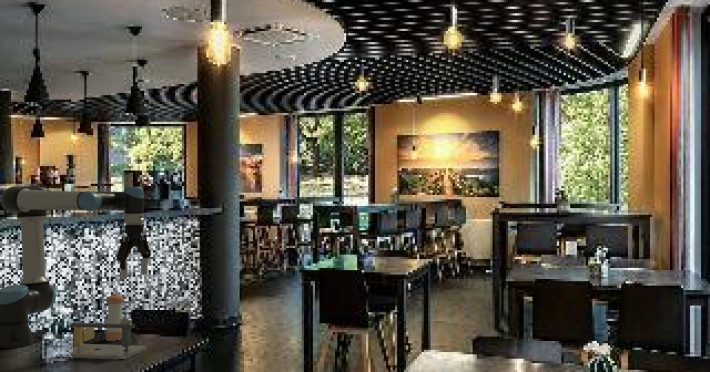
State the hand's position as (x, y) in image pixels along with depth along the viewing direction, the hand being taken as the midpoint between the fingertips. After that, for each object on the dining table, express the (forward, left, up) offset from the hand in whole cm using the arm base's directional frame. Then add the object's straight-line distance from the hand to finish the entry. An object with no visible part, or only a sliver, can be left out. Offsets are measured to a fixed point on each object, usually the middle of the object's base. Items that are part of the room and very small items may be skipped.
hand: (134, 275), depth 277 cm
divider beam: (-2, -21, -25) cm, 33 cm away
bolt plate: (-2, -21, -27) cm, 34 cm away
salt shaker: (-11, +3, -27) cm, 29 cm away
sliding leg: (-12, -18, -25) cm, 33 cm away
